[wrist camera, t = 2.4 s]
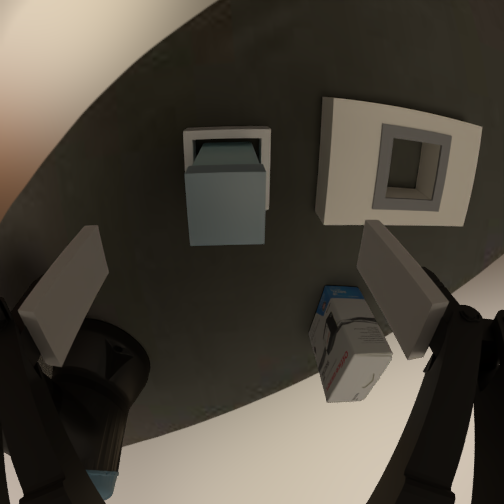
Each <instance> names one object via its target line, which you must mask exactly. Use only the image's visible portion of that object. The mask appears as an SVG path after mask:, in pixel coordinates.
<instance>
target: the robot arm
mask: <svg viewBox="0 0 504 504" xmlns="http://www.w3.org/2000/svg"><path fill="white" fill-rule="evenodd" d="M357 269H358V271H359V272H360V274H361V276H362V278H363V279H364V281H365V283H366V284H367V286H368V288H369V290H370V291H371V293H372V295H373V297H374V298H375V300H376V302H377V304H378V306H379V307H380V309H381V311H382V313H383V315H384V316H385V318H386V320H387V322H388V324H389V326H390V327H391V329H392V331H393V333H394V335H395V337H396V339H397V341H398V342H399V344H400V346H401V348H402V350H403V352H404V354H405V356H406V358H407V360H411V359H416V358H421V357H423V356H424V355H425V353H426V351H427V349H428V347H430V348H431V350H432V352H433V354H432V356H431V358H430V360H429V361H428V363H427V365H426V367H425V369H424V371H423V372H425V376H424V379H423V382H422V384H421V387H420V390H419V393H418V396H417V398H416V401H415V404H414V406H413V409H412V411H411V414H410V417H409V419H408V421H407V424H406V426H405V428H404V431H403V433H402V436H401V438H400V440H399V442H398V445H397V447H396V449H395V451H394V453H393V455H392V457H391V460H390V461H389V463H388V465H387V467H386V469H385V471H384V473H383V475H382V477H381V479H380V481H379V482H378V484H377V486H376V488H375V490H374V492H373V493H372V495H371V497H370V498H369V500H368V502H367V503H366V504H454V502H455V494H454V493H453V492H452V491H451V486H452V482H453V479H454V476H455V473H456V470H457V467H458V464H459V461H460V457H461V454H462V450H463V447H464V443H465V438H466V434H467V431H468V427H469V422H470V418H471V413H472V408H473V403H474V422H475V457H474V458H475V459H474V478H473V490H472V501H471V504H504V310H500V311H498V313H497V314H496V316H495V319H494V320H491V319H483V318H482V316H481V315H480V313H479V312H478V311H477V310H475V309H474V308H472V307H470V306H467V305H459V303H458V302H457V301H456V300H455V298H454V297H453V296H452V295H451V293H450V292H449V291H448V290H447V288H446V287H444V285H443V284H442V282H440V280H439V279H438V278H437V276H436V275H435V274H434V273H433V272H431V271H430V270H428V269H427V268H425V267H421V266H420V265H419V264H418V263H417V262H416V261H415V259H414V258H413V257H412V256H411V255H410V254H409V253H408V251H407V250H406V249H405V248H404V247H403V246H402V245H401V243H400V242H399V241H398V240H397V239H396V238H395V237H394V236H393V235H392V234H391V232H390V231H389V230H388V229H387V228H386V227H385V226H384V225H383V224H382V223H381V222H380V221H379V220H365V224H364V230H363V235H362V241H361V246H360V252H359V257H358V262H357ZM108 273H109V271H108V267H107V263H106V259H105V255H104V250H103V246H102V242H101V237H100V233H99V228H98V225H90V226H84V227H83V228H82V230H81V231H80V232H79V233H78V234H77V235H76V236H75V238H74V239H73V240H72V241H71V242H70V243H69V245H68V246H67V247H66V248H65V249H64V250H63V252H62V253H61V254H60V255H59V257H58V258H57V259H56V260H55V261H54V263H53V264H52V265H51V266H50V268H49V269H48V270H47V272H46V273H45V274H44V275H42V276H40V277H39V278H38V279H37V280H35V281H34V282H33V283H32V284H31V286H30V287H29V288H28V291H26V292H25V294H24V295H23V297H22V298H21V299H20V300H19V302H18V303H17V305H16V306H15V307H14V309H13V310H12V312H10V310H9V308H8V306H7V304H6V302H5V300H4V298H2V297H0V504H10V500H9V495H8V488H7V482H6V473H5V463H4V453H6V454H8V455H10V456H11V460H12V463H13V465H14V468H15V471H16V474H17V477H18V480H19V482H20V485H21V487H22V490H23V493H24V497H22V498H21V499H20V500H19V504H106V503H105V502H104V500H107V499H108V498H110V497H111V496H112V494H113V491H114V486H115V482H116V478H117V476H118V475H119V472H118V469H119V462H120V455H121V450H122V444H123V438H124V432H125V427H126V422H127V416H128V412H129V409H130V407H131V406H132V404H133V403H134V402H135V400H136V399H137V397H138V396H139V394H140V393H141V391H142V390H143V388H144V387H145V385H146V383H147V380H148V375H149V371H150V362H149V359H148V356H147V354H146V352H145V351H144V349H143V348H142V347H141V346H140V344H139V343H138V342H137V341H136V340H134V339H133V338H132V337H131V336H130V335H128V334H127V333H125V332H124V331H122V330H120V329H118V328H117V327H114V326H112V325H110V324H107V323H104V322H101V321H97V320H91V319H84V318H85V316H86V314H87V313H88V311H89V309H90V307H91V305H92V303H93V301H94V299H95V297H96V295H97V293H98V291H99V290H100V288H101V286H102V284H103V282H104V280H105V279H106V277H107V275H108ZM40 355H41V356H42V358H43V359H44V361H45V363H46V364H47V365H52V366H53V371H52V378H51V379H50V378H49V377H48V376H47V375H45V374H44V373H43V372H42V370H41V367H40V365H39V364H38V362H37V361H38V359H39V357H40Z"/></svg>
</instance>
